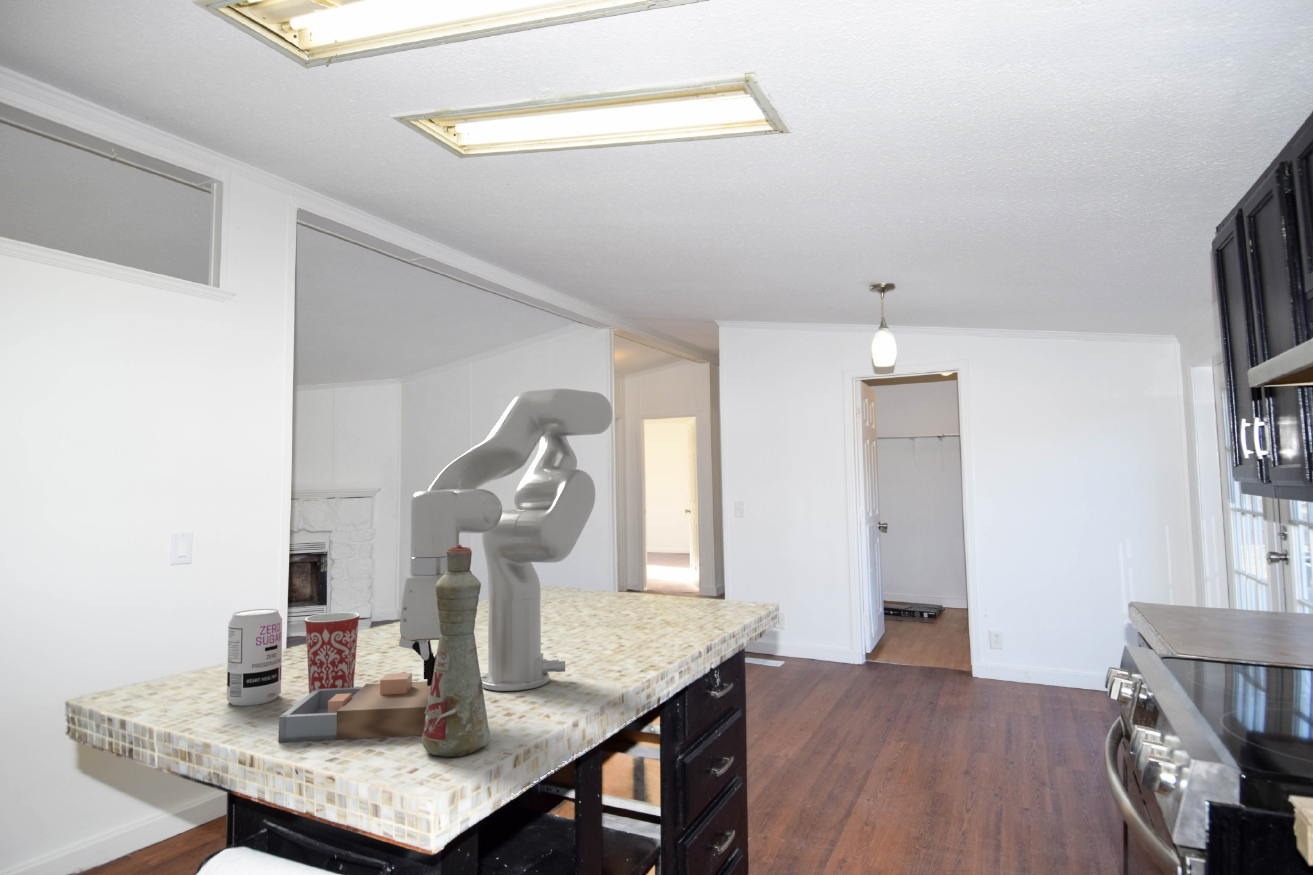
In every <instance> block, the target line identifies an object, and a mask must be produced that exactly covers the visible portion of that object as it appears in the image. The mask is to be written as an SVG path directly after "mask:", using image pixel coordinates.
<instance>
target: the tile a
mask: <svg viewBox="0 0 1313 875" xmlns="http://www.w3.org/2000/svg"><path fill="white" fill-rule="evenodd" d="M350 698H351V693H349V694H336V695H335V696H334V697H333V698H331V699H330V700H329V701H328V713H337V710H338V709H339V708H341V707H342V706H343V705H344V704H345V703H346V702H347V701H348V700H349V699H350Z"/></svg>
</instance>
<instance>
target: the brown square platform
mask: <svg viewBox="0 0 1313 875" xmlns="http://www.w3.org/2000/svg"><path fill="white" fill-rule="evenodd" d="M361 687H362V688H361V689H360V690H359V691H358V692H357V693H356V694H355V695H354V696H353V697H351V698H350V699H349V700H348V701H347V702H346V703H345V704H344V705H343V706H342V707H341V708H339V709H338V710H337V731H336V739H335V740H348V739H350V740H351V739H369V738H370V739H371V738H389V737H393V738H395V737H410V736H411V737H412V736H423V732H424V725H425V717H426V714H425V711H426V708H427V704H428V699H429V692H430V690H431V686H427V680H425V681H424V680H423V681H412V687H411V689H410V690H409V691H408V692H407V693H404V694H381V695H380V682H379V683H366V684H364V685H363V686H361Z"/></svg>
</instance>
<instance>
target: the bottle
mask: <svg viewBox="0 0 1313 875" xmlns="http://www.w3.org/2000/svg"><path fill="white" fill-rule="evenodd" d="M446 553H447V571H446V572H445V574H444V575H443V576H442V577H441V578H440V579H439V581H438V582H437V583H436V585H435V588H436V596H437V607H438V617H439V621H440V622H439V626H440V633H441V634H440V637H439V640H438V642H437V643H438V644H437V648H436V649H437V651H436V654H437V655H436V654H435V655H436V661H435V666H434V673H433V678H432V684H431V690H430V692H429V699H428V704H427V708H426V711H425V714H426V717H425V725H424V732H423V735H421V743H422V746H423V748H424V749H425V752H428V754H430V755H432V756H439V757H445V758H450V757H463V756H466V755H468V754H472V753H474V752H476V751H478V750H479V749H481V748H483V747H485V746H486V745H487V744H488V743H489V742H490V740H491V732H490V727H489V721H488V714H487V707H486V701H485V694H484V688H483V687H482V680H481V677H482V675H481V669H480V663H479V657H478V649H477V643H476V637H475V633H474V631H475V629H476V628H475V627H476V617H477V614H478V613H477V612H478V606H479V599H480V597H479V596H480V593H481V587H482V583H481V581H480V580H479V579H478V578H477V577H476V576H475V574H473V572H472V571H471V565H472V554H473V551H472V550H471V548H470V547H466V546H465V547H464V546H462V545H461V544H460V543H459V545H457V548H448V549H447V551H446Z"/></svg>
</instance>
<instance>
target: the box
mask: <svg viewBox="0 0 1313 875" xmlns="http://www.w3.org/2000/svg"><path fill="white" fill-rule="evenodd" d="M362 687H363V686H360V687H359V686H357V687H355V686H354V688H331V689H315V690H314V691H313V692H311V693H310V694H309V693H308V694H307V695H306V696H304V697H303V698H302V699H300V700H299V701H298V702H297V703H295V704H294V705H293V706H291V707H290V708H289V709H288V710H286V711H285V712H283V713H282V714H281V715H280V716H279V717H278V736H277V738H278V743H288V742H292V743H293V742H307V741H310V742H311V741H331V740H337V739H336V731H337V713H328V701H329V700H330V699H331V698H333V697H334V696H335V695H336V694H349V693H351V697H353V696H354V695H355V694H356V693H357V692H358V691H359V690H360V689H361V688H362Z"/></svg>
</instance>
